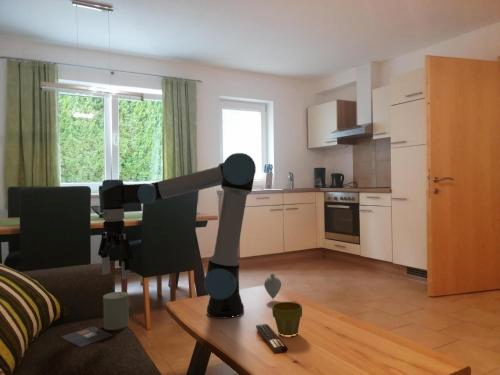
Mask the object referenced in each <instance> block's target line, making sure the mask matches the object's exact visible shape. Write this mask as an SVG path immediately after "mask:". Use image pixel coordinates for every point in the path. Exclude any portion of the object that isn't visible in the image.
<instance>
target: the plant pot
mask: <svg viewBox="0 0 500 375" xmlns="http://www.w3.org/2000/svg"><path fill="white" fill-rule="evenodd" d="M271 310H272V317H273V318H274V321H275V324H276V329H277V333H278V332H279V333H280V334H283V335H293V334H296V333H299V329H300V328H299V327H300V321H301V318H302V317H303V306H302V304H300V303H298V302H295V301H280V302H276V303H274V304H272V309H271ZM279 333H278V334H279Z"/></svg>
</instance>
